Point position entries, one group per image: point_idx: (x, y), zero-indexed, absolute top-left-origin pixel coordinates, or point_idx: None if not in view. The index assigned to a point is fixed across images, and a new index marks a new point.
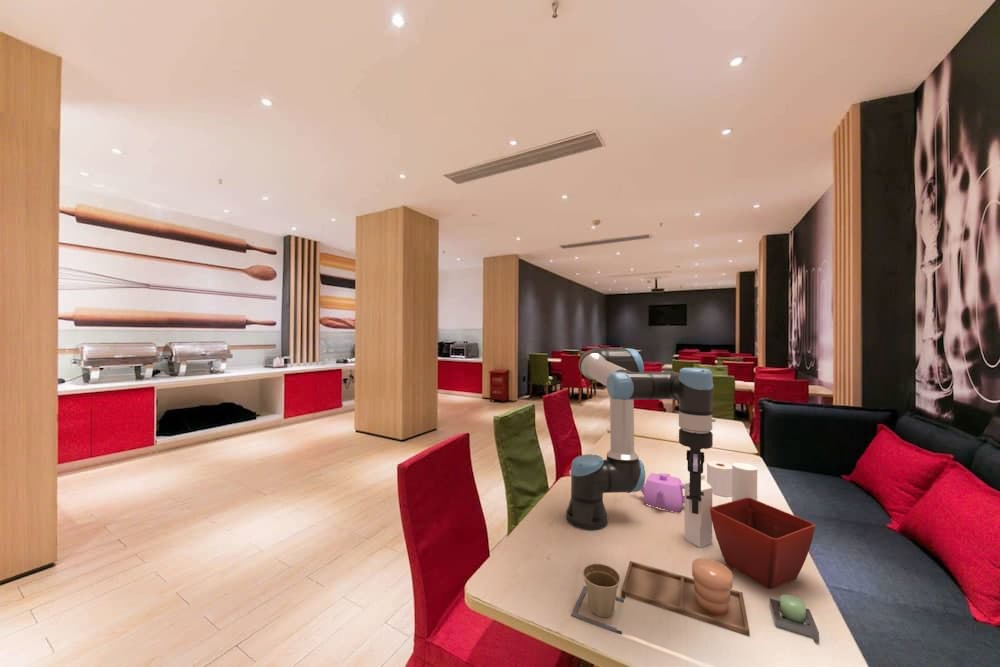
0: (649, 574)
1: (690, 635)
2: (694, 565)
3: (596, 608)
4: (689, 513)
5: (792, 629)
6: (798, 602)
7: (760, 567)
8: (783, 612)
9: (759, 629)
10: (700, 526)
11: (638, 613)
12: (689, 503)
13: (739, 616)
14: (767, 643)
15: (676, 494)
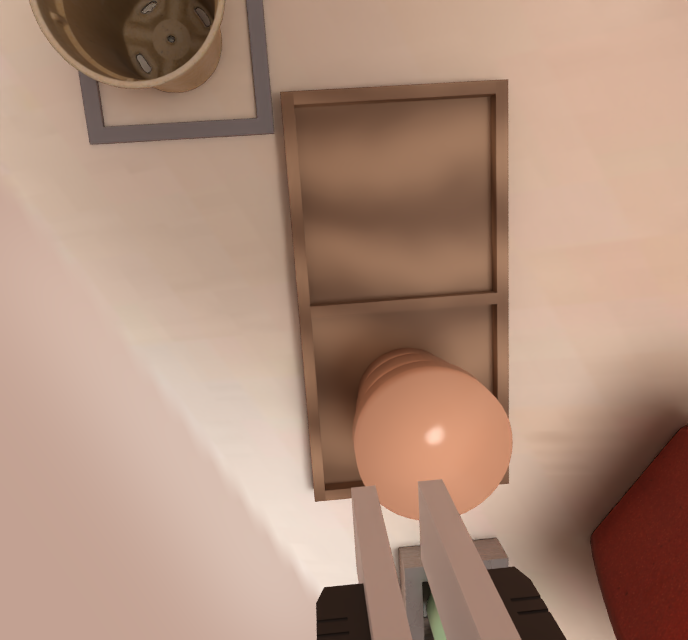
0: (470, 175)
1: (230, 344)
2: (424, 383)
3: (107, 25)
4: (361, 547)
5: (403, 594)
6: None
7: (624, 569)
8: None
9: None
10: (356, 564)
11: (232, 177)
12: (371, 622)
13: None
14: (326, 527)
15: None
